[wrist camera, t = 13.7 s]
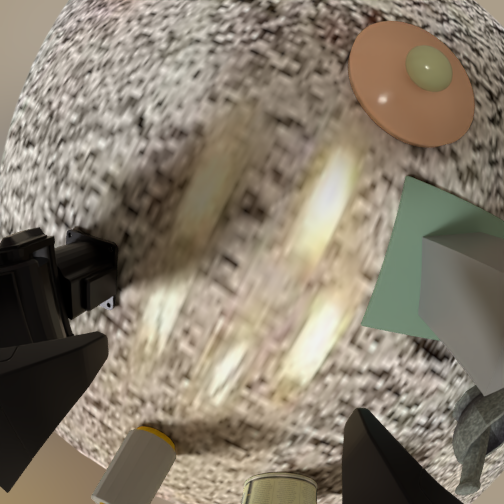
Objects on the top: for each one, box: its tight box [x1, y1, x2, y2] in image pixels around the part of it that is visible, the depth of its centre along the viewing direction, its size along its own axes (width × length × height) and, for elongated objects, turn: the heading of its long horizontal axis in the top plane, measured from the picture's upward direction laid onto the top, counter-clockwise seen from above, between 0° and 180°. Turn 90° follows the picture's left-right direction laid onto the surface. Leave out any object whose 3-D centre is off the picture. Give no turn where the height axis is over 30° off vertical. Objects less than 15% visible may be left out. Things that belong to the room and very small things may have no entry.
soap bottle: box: [91, 426, 176, 504], centre depth 19 cm, size 7×7×18 cm
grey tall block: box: [418, 232, 504, 396], centre depth 13 cm, size 6×6×11 cm
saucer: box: [348, 21, 475, 148], centre depth 13 cm, size 11×11×5 cm
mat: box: [361, 176, 504, 341], centre depth 18 cm, size 13×12×1 cm
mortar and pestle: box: [452, 385, 504, 495], centre depth 15 cm, size 11×9×12 cm
